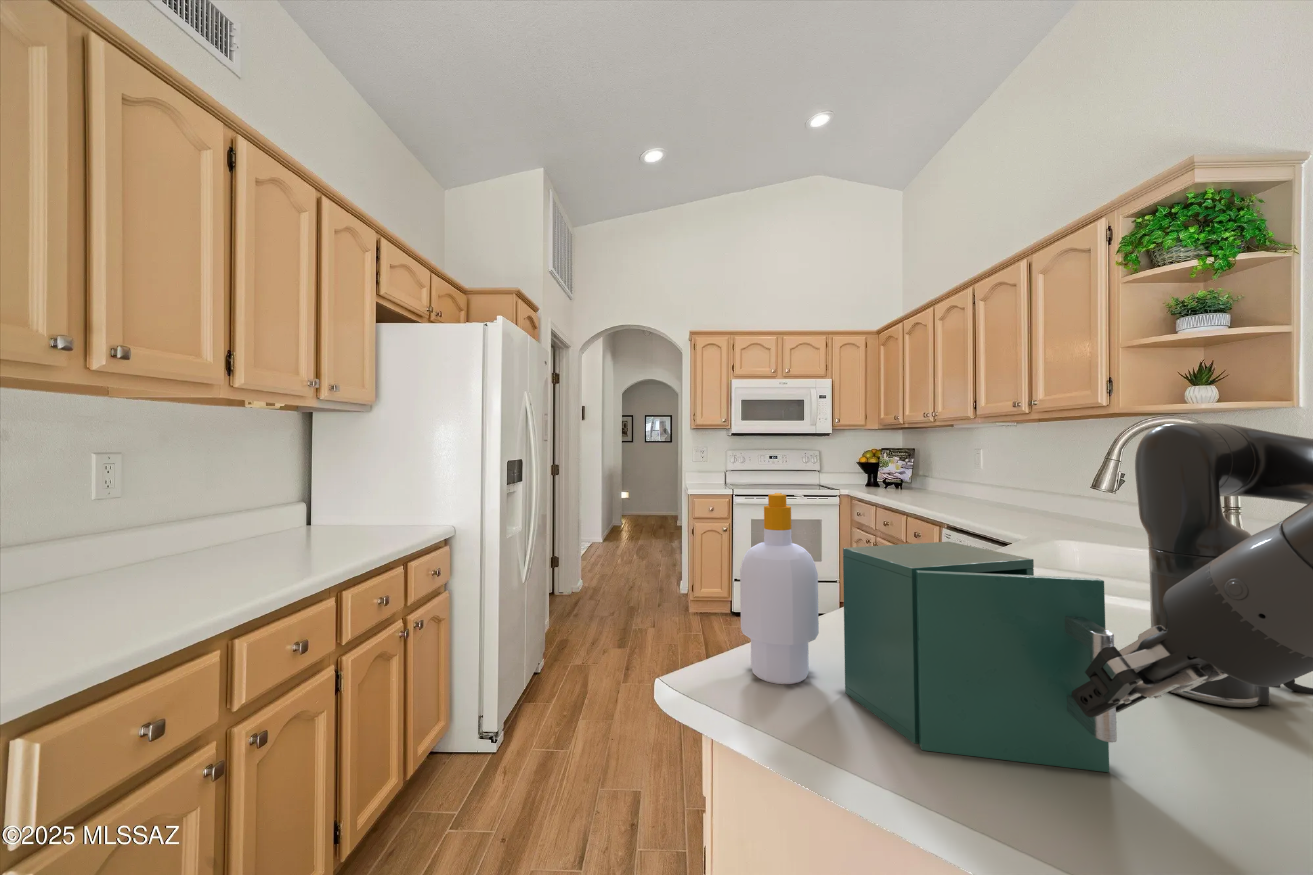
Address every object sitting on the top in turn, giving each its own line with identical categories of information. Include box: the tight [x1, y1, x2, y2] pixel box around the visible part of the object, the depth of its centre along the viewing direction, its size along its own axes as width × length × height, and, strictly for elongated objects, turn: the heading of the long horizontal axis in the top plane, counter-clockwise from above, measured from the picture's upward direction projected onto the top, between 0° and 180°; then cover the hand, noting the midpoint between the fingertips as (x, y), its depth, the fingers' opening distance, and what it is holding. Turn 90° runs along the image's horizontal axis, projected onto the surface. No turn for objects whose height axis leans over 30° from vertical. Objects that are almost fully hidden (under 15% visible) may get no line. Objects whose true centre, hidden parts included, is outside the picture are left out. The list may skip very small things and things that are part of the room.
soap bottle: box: [739, 492, 820, 685], centre depth 72 cm, size 10×10×24 cm
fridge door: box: [916, 570, 1118, 773], centre depth 49 cm, size 6×16×18 cm, turn 76°
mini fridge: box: [842, 541, 1035, 745], centre depth 62 cm, size 12×16×18 cm
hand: (1092, 702), depth 47 cm, fingers closed on fridge door
